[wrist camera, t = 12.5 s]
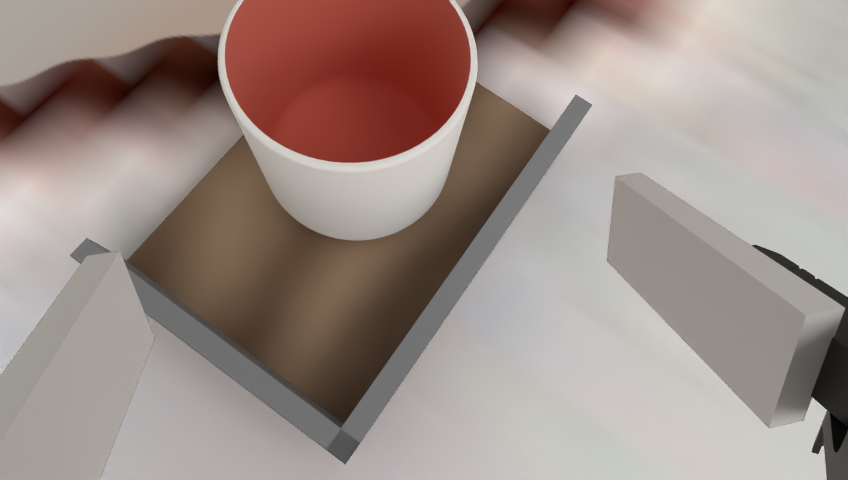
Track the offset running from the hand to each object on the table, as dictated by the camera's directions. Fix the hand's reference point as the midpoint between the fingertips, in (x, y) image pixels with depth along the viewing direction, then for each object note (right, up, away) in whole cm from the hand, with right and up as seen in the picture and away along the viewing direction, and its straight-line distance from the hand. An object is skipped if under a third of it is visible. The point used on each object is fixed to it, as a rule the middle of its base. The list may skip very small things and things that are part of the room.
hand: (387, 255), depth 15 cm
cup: (-3, +5, +16) cm, 17 cm away
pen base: (-3, +2, +16) cm, 17 cm away
